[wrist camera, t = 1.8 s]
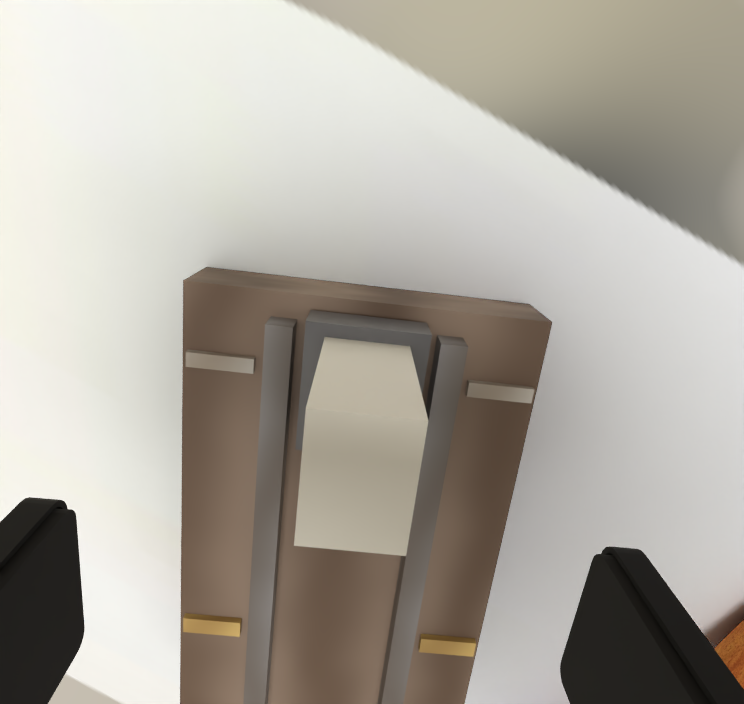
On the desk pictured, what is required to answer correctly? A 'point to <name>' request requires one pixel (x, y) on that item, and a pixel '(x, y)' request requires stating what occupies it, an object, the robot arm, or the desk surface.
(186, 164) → the desk surface
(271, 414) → the brown slider board
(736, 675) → the kendama
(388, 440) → the fader tab
